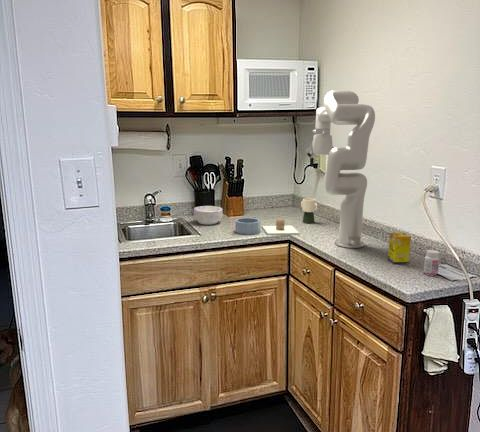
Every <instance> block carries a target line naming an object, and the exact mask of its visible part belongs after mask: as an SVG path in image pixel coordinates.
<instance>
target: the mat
mask: <svg viewBox="0 0 480 432" xmlns="http://www.w3.org/2000/svg"><path fill="white" fill-rule="evenodd" d="M260 229H261V230H262V231H263V232H264V234H265V235H266V236H268V235H267V233H266V232H265V231H264V229H263V228H262V227H261V226H260ZM298 235H299V236H300V235H301V234H300V233H299V234H288V235H287V236H298Z"/></svg>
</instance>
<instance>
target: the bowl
mask: <svg viewBox="0 0 480 432" xmlns="http://www.w3.org/2000/svg"><path fill="white" fill-rule="evenodd" d="M261 224H262V223H261V219H259V218H256V217H255V218H253V217H240V218H236V219H234V232H235V234H239V235H245V236H246V235H250V236H251V235H258V234H259V233H261Z"/></svg>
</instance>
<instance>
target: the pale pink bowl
mask: <svg viewBox="0 0 480 432" xmlns="http://www.w3.org/2000/svg"><path fill="white" fill-rule="evenodd" d="M223 210H224V209H223V208H222V207H220V206H214V205H202V206H201V205H200V206H196V207H194V208H193V219H195V220H197V222H198V223H199V224H200V225H206V226H208V225H209V226H211V225H216V224H218V223H219V221H220V220H221V219H222V218H223Z"/></svg>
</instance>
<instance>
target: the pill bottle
mask: <svg viewBox="0 0 480 432" xmlns="http://www.w3.org/2000/svg"><path fill="white" fill-rule="evenodd" d="M439 256H440V251H438V250H435V249H427V250H426V255H425V257H424V264H423V274H424V273H425V274H427V275H426V276H428V275H436V274H438V275H439V268H440V265H439V264H440V257H439ZM425 274H424V275H425Z"/></svg>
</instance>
